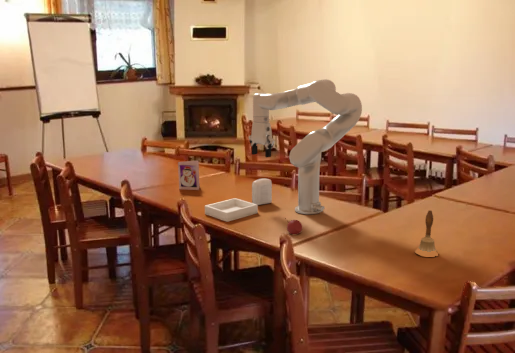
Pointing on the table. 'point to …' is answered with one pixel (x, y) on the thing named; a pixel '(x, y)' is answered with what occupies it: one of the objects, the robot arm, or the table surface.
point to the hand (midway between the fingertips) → (261, 155)
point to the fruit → (294, 227)
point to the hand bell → (428, 235)
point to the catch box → (231, 209)
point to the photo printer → (262, 191)
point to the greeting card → (189, 175)
